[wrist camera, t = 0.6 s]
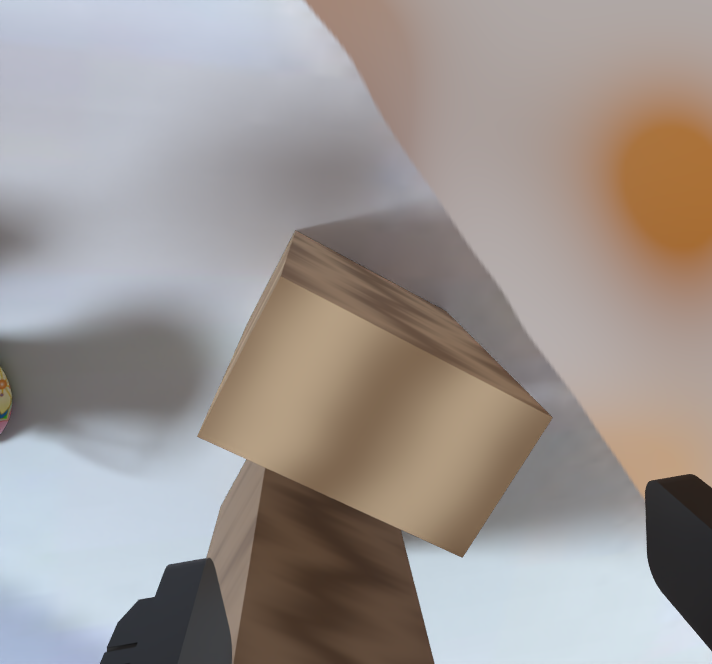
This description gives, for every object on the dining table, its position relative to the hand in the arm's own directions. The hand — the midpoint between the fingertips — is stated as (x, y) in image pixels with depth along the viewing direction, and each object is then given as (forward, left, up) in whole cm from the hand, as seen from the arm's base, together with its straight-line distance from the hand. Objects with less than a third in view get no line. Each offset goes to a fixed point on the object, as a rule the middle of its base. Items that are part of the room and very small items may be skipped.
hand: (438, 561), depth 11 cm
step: (-3, -1, -32) cm, 33 cm away
